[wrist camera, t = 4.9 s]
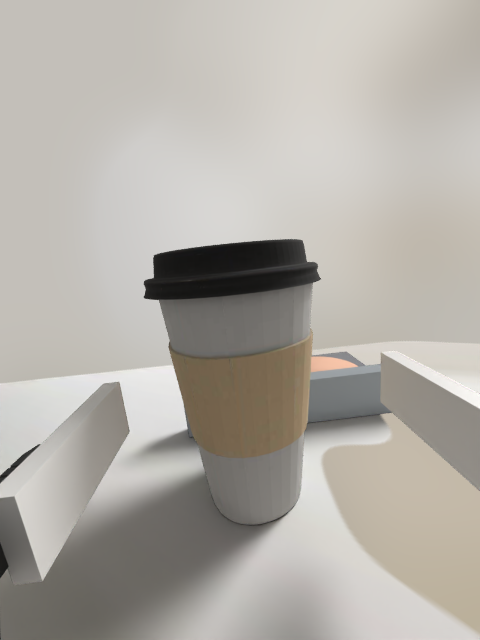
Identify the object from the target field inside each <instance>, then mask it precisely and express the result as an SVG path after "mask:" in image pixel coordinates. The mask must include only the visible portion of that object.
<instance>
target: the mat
mask: <svg viewBox="0 0 480 640" xmlns="http://www.w3.org/2000/svg"><path fill="white" fill-rule="evenodd" d="M360 366H366V365H364V364H363V363H361V362H360V361H359V360H357V359H356V358H354V357H353V356H352V355H350V354H349V353H347V352H339V353H331V354H322V355H313V356H312V357H311V372H317V371H325V370H334V369H342V368H351V367H360Z"/></svg>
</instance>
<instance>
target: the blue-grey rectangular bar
mask: <svg viewBox="0 0 480 640" xmlns="http://www.w3.org/2000/svg"><path fill="white" fill-rule="evenodd" d="M380 391H381V364H377V365H368V366H360V367H351V368H342V369H334V370H325V371H317V372H311V373H310V390H309V407H308V422H307V423H311V422H319V421H327V420H336V419H344V418H352V417H360V416H368V415H376V414H384V413H392V412H391V411H390V410H389V409H388V408H386V407H385V406H384V405H383V404H382V403H381V402H380ZM184 408H185V406H184ZM185 414H186V421H187V427H188V433H189V437H193V434H192V431H191V428H190V424H189V421H188V417H187V413H186V409H185Z"/></svg>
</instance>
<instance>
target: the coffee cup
mask: <svg viewBox="0 0 480 640" xmlns="http://www.w3.org/2000/svg"><path fill="white" fill-rule="evenodd" d="M153 263H154V278H152V279H148V280H145V281H144V285H145V288H146V291H145V296H144V298H146V299H153V300H159V302H160V306H161V309H162V313H163V317H164V321H165V325H166V328H167V332H168V336H169V339H170V342H169V350H170V354H171V358H172V361H173V365H174V369H175V373H176V376H177V380H178V384H179V387H180V391H181V395H182V398H183V402H184V406H185V409H186V413H187V417H188V421H189V424H190V428H191V431H192V434H193V437H194V439H195V440H196V442H197V444H198V447H199V451H200V455H201V458H202V462H203V466H204V469H205V473H206V477H207V480H208V484H209V487H210V491H211V495H212V497H213V500H214V503H215V505H216V506H217V508H218V510H219V511H220V512H221V513H222V514H223V515H224V516H225V517H226V518H228V519H230V520H231V521H233V522H236V523H240V524H247V525H255V524H263V523H266V522H270V521H273V520H275V519H277V518H279V517H281V516H283V515H284V514H285V513H287V512H288V511H290V509H291V508H292V507H293V506H294V505H295V504H296V502H297V500H298V498H299V495H300V490H301V479H302V463H303V446H304V431H305V430H306V426H307V422H308V407H309V390H310V373H311V357H312V340H313V332H312V330H311V328H310V321H311V304H312V284H313V282H316V281H319V280H320V279H321V278H320V277H319V275H318V272H317V268H318V265H317V264H316V263H315V262H307V261H306V255H305V249H304V244H303V241H302V240H297V239H294V240H293V239H285V240H265V241H252V242H241V243H230V244H221V245H212V246H203V247H195V248H188V249H181V250H175V251H169V252H164V253H160V254H157V255H154V258H153Z"/></svg>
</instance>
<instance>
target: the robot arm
mask: <svg viewBox="0 0 480 640" xmlns="http://www.w3.org/2000/svg"><path fill="white" fill-rule="evenodd" d="M380 402H381V403H382V404H383V405H384V406H385V407H386V408H388V409H389V410H390V411H391V412H392V413H393V414H394V415H396V416H397V417H398V418H399V419H400V420H401V421H402V422H403V423H404V424H406V425H407V426H408V427H409V428H410V429H411V430H412V431H413V432H414V433H416V434H417V435H418V436H419V437H420V438H421V439H422V440H423V441H424V442H426V443H427V444H428V445H429V446H430V447H431V448H432V449H433V450H434V451H436V452H437V453H438V454H439V455H440V456H441V457H442V458H443V459H444V460H446V461H447V462H448V463H449V464H450V465H451V466H453V468H454V469H456V470H457V471H458V472H459V473H460V474H461V475H462V476H463V477H464V478H466V479H467V480H468V481H469V482H470V483H471V484H472V485H474V486H475V487H476V488H477V489H478V490H479V491H480V393H478V392H476V391H474V390H472V389H470V388H468V387H466V386H464V385H462V384H460V383H458V382H456V381H454V380H452V379H450V378H448V377H446V376H444V375H442V374H440V373H438V372H437V371H435V370H433V369H431V368H429V367H427V366H425V365H423V364H421V363H419V362H417V361H415V360H413V359H411V358H409V357H407V356H405V355H403V354H401V353H399V352H397V351H388V352H381V391H380ZM129 432H130V431H129V426H128V421H127V416H126V412H125V407H124V402H123V397H122V392H121V388H120V383H119V382H114V383H105V384H103V385H102V386H101V387H100V388H99V389H98V390H97V391H95V392H94V393H93V394H92V395H91V396H90V397H89V398H88V399H87V400H86V401H85V402H84V403H83V404H82V405H81V406H80V407H79V408H78V409H77V410H76V411H75V412H74V413H73V414H72V415H71V416H70V417H69V418H68V419H67V420H65V421H64V422H63V423H62V424H61V425H60V426H59V427H58V428H57V429H56V430H55V431H54V432H53V433H52V434H51V435H50V436H49V437H48V438H47V439H46V440H45V441H44V442H43V443H42V444H39V445H37V446H35V447H34V448H32V449H31V450H29V451H28V452H26V453H25V454H23V455H22V456H21V457H20V458H19V459H18V460H17V461H16V462H14V463H13V464H12V465H11V467H10V468H8V469H7V470H6V471H5V472H4V473H3V474H2V475H0V578H1V576H2V575H3V574H4V572H5V571H6V569H7V568H8V571H9V573H10V576H11V579H12V582H13V585H19V584H27V583H34V582H42V581H43V580H44V578H45V576H46V575H47V573H48V571H49V569H50V568H51V566H52V564H53V562H54V561H55V559H56V557H57V556H58V554H59V552H60V550H61V549H62V547H63V545H64V544H65V542H66V540H67V538H68V537H69V535H70V533H71V532H72V530H73V528H74V526H75V525H76V523H77V521H78V520H79V518H80V516H81V514H82V513H83V511H84V509H85V507H86V506H87V504H88V502H89V501H90V499H91V497H92V495H93V494H94V492H95V490H96V489H97V487H98V485H99V483H100V482H101V480H102V478H103V477H104V475H105V473H106V471H107V470H108V468H109V466H110V465H111V463H112V461H113V459H114V458H115V456H116V454H117V453H118V451H119V449H120V447H121V446H122V444H123V442H124V440H125V439H126V437H127V435H128V434H129ZM0 640H1V638H0Z"/></svg>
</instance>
